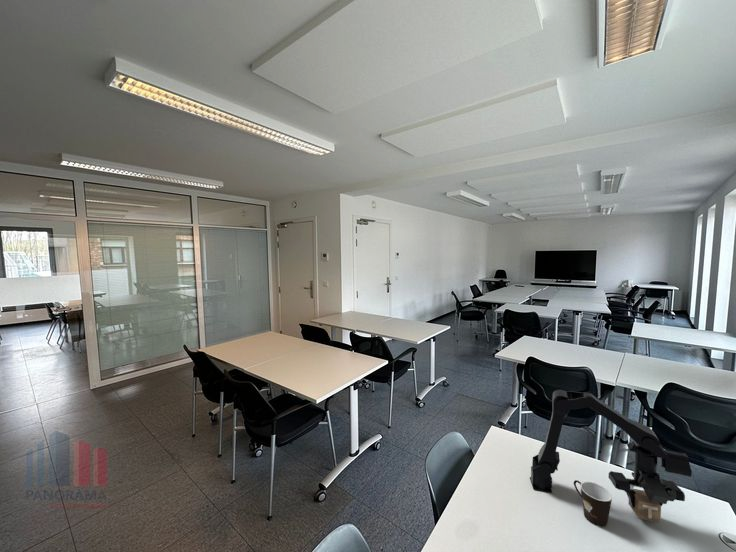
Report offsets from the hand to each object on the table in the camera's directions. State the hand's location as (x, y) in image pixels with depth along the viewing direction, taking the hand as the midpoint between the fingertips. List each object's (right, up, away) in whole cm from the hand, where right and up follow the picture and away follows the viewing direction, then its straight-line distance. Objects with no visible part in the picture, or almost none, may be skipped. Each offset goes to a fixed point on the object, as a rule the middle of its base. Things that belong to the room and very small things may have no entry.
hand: (644, 508), depth 100 cm
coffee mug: (-16, -4, +2) cm, 17 cm away
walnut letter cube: (0, -2, 0) cm, 2 cm away
